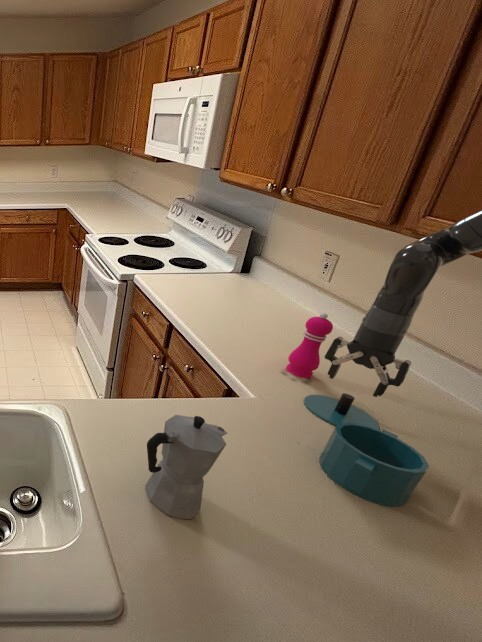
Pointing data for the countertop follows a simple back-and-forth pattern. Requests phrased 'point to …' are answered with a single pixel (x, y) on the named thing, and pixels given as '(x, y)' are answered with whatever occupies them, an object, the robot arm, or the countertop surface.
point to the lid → (338, 410)
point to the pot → (372, 464)
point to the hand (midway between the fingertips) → (352, 386)
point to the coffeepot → (182, 464)
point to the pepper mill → (309, 347)
